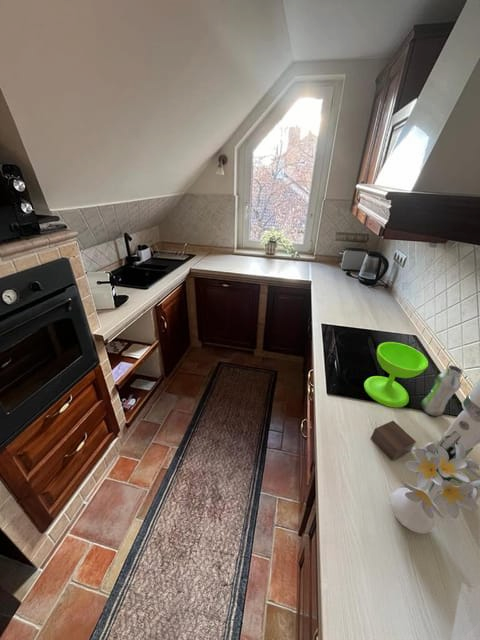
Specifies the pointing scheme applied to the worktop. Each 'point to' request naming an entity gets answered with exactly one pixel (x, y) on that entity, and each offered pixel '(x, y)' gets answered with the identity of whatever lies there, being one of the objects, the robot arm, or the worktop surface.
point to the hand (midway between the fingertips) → (449, 453)
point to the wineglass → (395, 373)
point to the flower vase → (435, 487)
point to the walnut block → (392, 440)
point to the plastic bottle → (442, 391)
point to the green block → (454, 447)
